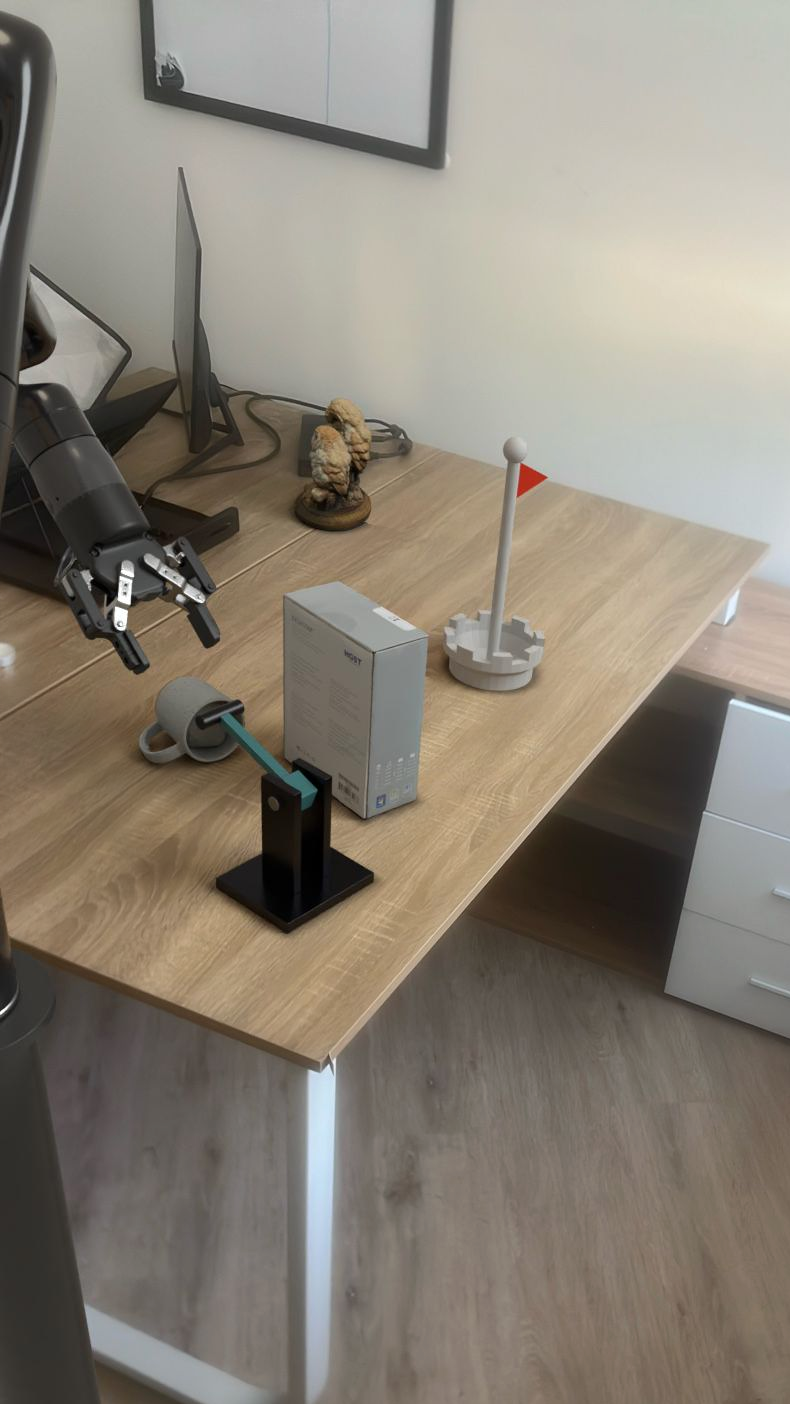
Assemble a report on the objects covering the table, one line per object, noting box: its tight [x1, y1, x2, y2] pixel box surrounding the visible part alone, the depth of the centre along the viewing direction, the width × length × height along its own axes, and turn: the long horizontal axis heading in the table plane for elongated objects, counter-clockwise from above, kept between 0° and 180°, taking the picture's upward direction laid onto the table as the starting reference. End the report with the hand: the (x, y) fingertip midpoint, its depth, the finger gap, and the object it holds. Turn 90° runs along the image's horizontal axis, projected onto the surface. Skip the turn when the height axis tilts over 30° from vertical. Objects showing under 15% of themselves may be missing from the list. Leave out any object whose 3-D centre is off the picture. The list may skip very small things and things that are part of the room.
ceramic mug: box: [138, 675, 246, 764], centre depth 141 cm, size 11×8×8 cm
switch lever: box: [195, 698, 318, 810], centre depth 121 cm, size 13×5×2 cm, turn 54°
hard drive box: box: [282, 580, 430, 819], centre depth 137 cm, size 16×8×20 cm, turn 44°
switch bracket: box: [215, 758, 375, 934], centre depth 123 cm, size 10×12×13 cm
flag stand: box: [442, 436, 549, 692], centre depth 158 cm, size 13×13×30 cm
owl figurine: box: [294, 397, 373, 532], centre depth 196 cm, size 18×12×17 cm, turn 0°
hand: (179, 657), depth 122 cm, fingers open, 8 cm apart
